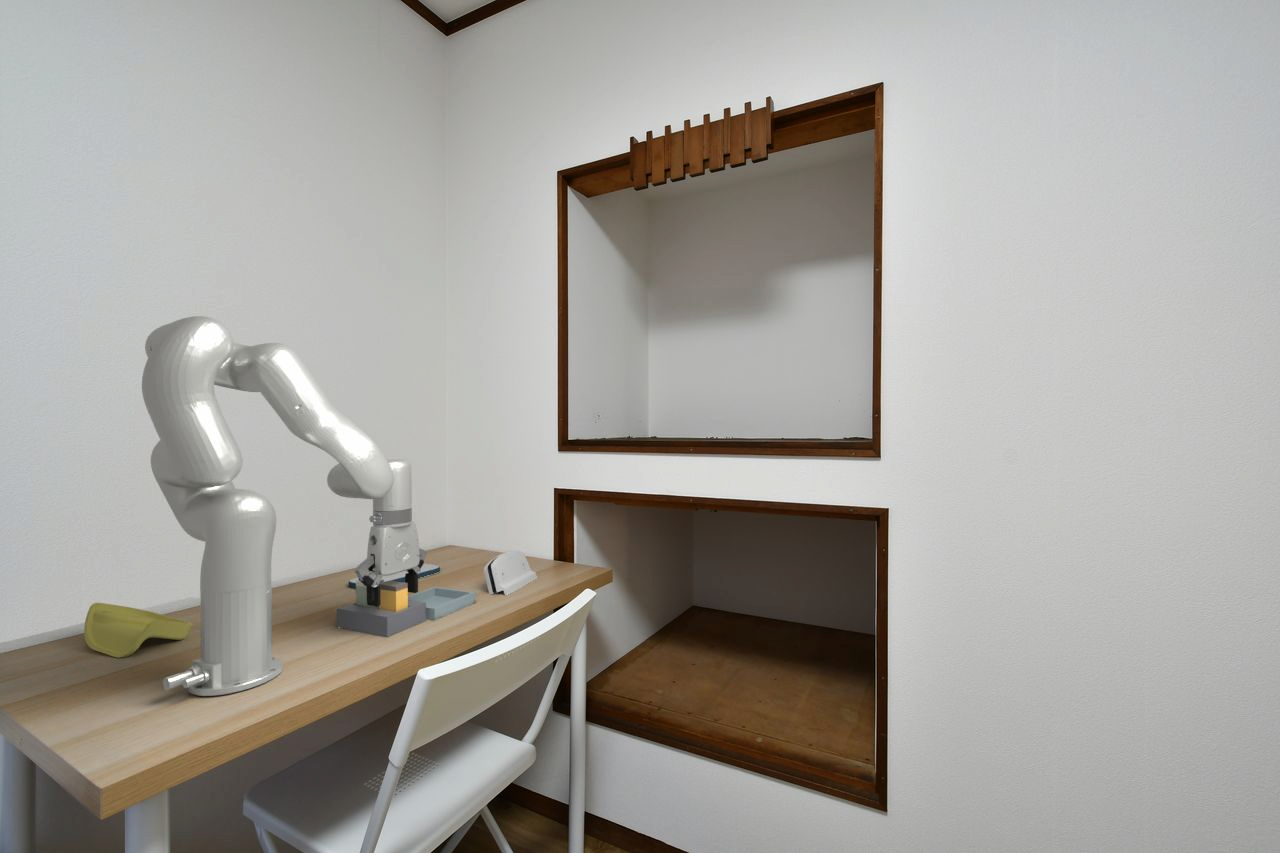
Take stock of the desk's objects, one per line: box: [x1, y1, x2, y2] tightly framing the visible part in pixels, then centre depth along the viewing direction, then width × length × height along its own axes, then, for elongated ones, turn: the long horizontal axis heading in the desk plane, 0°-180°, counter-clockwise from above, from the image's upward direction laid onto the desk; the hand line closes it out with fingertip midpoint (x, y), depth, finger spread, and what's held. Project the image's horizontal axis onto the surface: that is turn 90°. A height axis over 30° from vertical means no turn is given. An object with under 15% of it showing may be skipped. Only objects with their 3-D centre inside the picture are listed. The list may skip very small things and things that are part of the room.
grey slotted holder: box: [483, 550, 538, 596], centre depth 143 cm, size 17×5×10 cm, turn 163°
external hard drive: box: [348, 562, 441, 590], centre depth 152 cm, size 24×12×2 cm, turn 148°
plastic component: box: [83, 602, 194, 659], centre depth 107 cm, size 20×7×10 cm
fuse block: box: [335, 578, 427, 638], centre depth 115 cm, size 10×15×9 cm, turn 66°
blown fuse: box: [379, 581, 409, 612], centre depth 113 cm, size 3×5×9 cm, turn 66°
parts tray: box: [408, 586, 477, 621], centre depth 125 cm, size 13×13×2 cm
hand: (393, 598), depth 113 cm, fingers open, 9 cm apart
